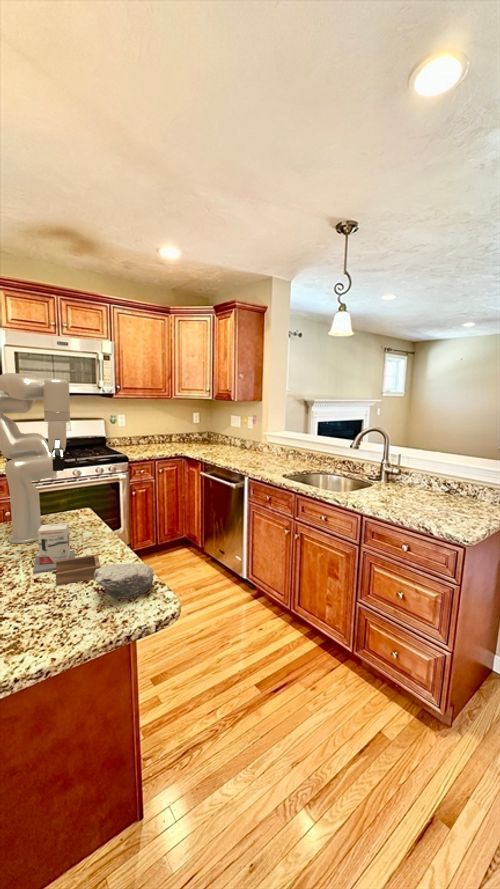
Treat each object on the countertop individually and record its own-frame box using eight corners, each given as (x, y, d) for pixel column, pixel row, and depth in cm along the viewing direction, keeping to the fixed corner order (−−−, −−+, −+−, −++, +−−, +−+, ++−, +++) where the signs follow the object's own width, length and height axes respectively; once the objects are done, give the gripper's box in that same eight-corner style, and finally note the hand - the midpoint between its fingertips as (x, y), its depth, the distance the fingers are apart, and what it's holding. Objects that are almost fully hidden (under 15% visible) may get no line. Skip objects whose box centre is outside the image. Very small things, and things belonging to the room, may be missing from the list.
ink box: (39, 565, 118) (36, 530, 116) (42, 558, 123) (40, 524, 121) (68, 562, 120) (66, 527, 119) (70, 555, 125) (68, 522, 124)
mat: (35, 558, 124) (35, 556, 124) (74, 552, 130) (74, 550, 130) (33, 574, 114) (33, 571, 114) (75, 566, 119) (75, 564, 119)
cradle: (56, 571, 116) (56, 560, 115) (98, 563, 121) (97, 554, 121) (56, 586, 107) (55, 574, 107) (100, 577, 112) (100, 566, 112)
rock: (157, 599, 105) (162, 569, 103) (96, 615, 95) (100, 583, 93) (144, 576, 113) (148, 548, 111) (87, 588, 103) (90, 558, 101)
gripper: (46, 414, 126) (48, 462, 129) (42, 419, 111) (44, 474, 114) (70, 414, 130) (71, 461, 132) (69, 419, 114) (71, 472, 117)
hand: (59, 467), depth 123 cm, fingers open, 9 cm apart
